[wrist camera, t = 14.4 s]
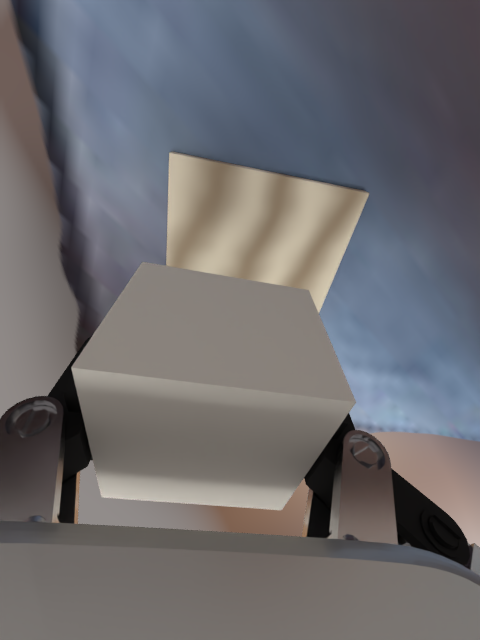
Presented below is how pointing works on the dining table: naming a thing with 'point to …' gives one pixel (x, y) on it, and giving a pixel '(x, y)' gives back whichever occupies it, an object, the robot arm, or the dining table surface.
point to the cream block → (209, 390)
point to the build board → (258, 224)
